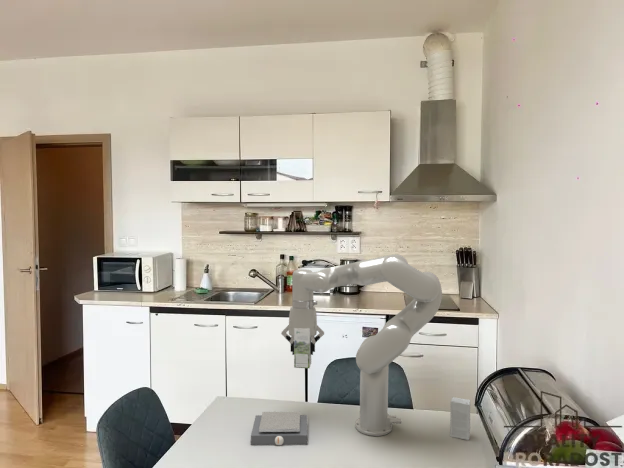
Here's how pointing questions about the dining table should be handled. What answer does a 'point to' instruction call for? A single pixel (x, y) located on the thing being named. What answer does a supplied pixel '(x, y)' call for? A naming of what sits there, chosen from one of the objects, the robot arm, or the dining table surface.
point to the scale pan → (280, 422)
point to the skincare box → (460, 418)
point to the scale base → (279, 434)
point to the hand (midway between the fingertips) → (302, 353)
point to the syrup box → (302, 348)
